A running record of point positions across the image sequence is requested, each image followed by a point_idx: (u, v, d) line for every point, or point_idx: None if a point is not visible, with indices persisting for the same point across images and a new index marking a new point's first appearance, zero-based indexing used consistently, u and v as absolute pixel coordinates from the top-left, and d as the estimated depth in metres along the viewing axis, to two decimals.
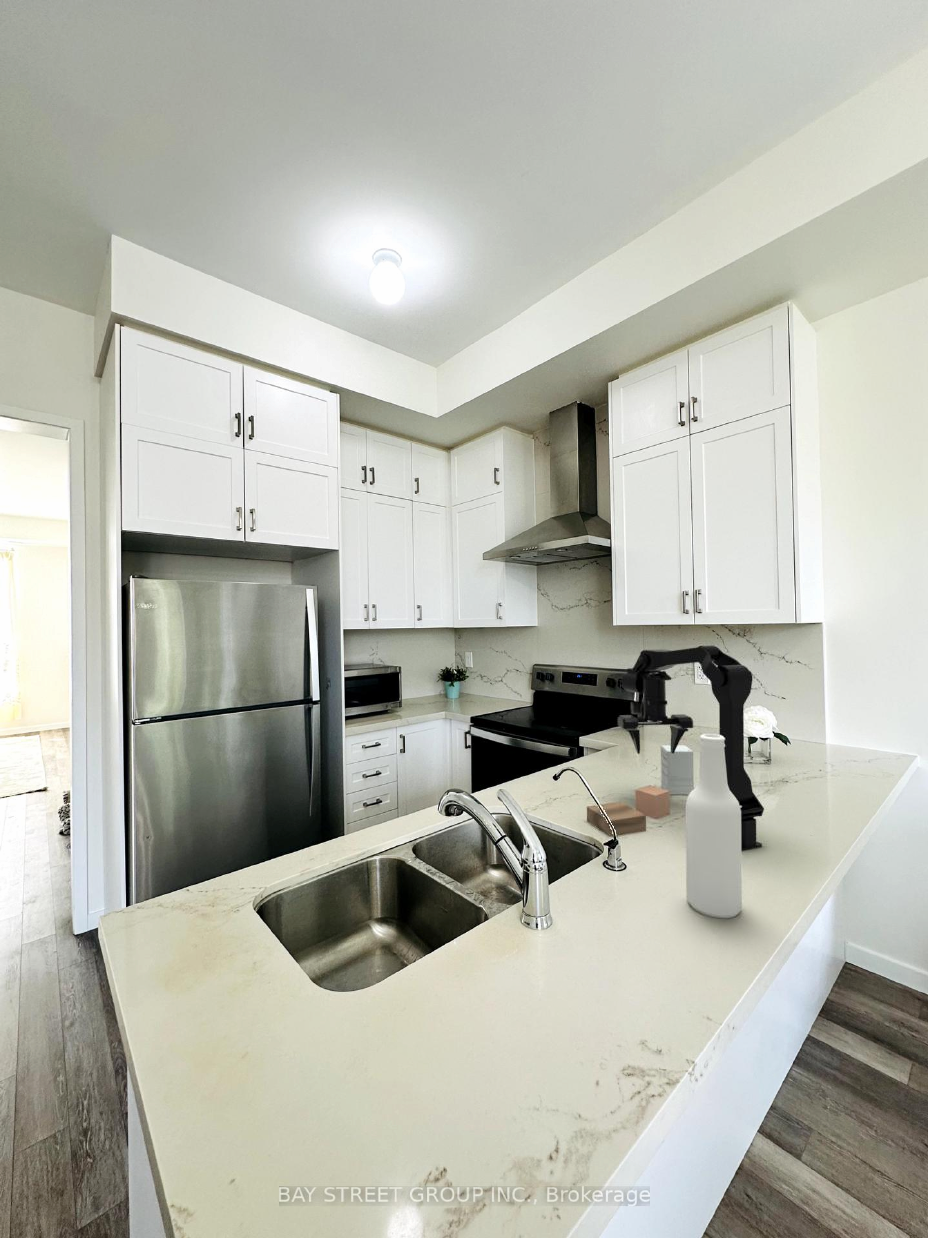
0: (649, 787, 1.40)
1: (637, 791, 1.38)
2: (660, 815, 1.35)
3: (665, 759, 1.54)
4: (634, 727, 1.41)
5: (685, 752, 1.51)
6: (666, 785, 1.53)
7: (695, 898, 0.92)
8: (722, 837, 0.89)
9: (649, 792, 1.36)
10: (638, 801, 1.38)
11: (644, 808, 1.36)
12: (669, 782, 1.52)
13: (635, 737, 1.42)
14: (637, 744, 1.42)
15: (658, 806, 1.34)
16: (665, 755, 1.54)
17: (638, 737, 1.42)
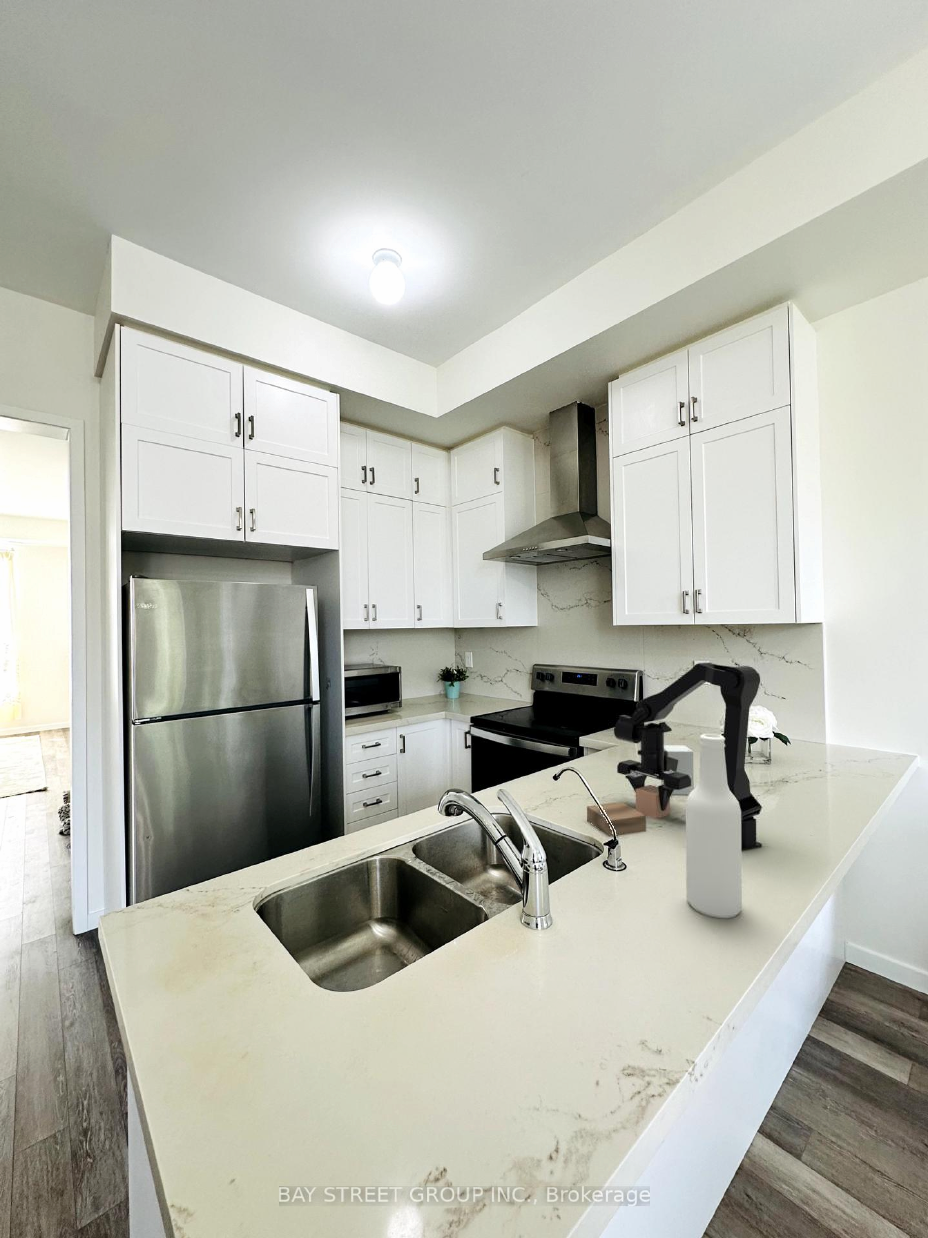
0: (649, 787, 1.40)
1: (637, 791, 1.38)
2: (660, 815, 1.35)
3: None
4: (624, 773, 1.41)
5: (685, 752, 1.51)
6: None
7: (695, 898, 0.92)
8: (722, 837, 0.89)
9: (649, 792, 1.36)
10: (638, 801, 1.38)
11: (644, 808, 1.36)
12: None
13: (632, 785, 1.40)
14: None
15: (658, 806, 1.34)
16: None
17: (634, 786, 1.40)
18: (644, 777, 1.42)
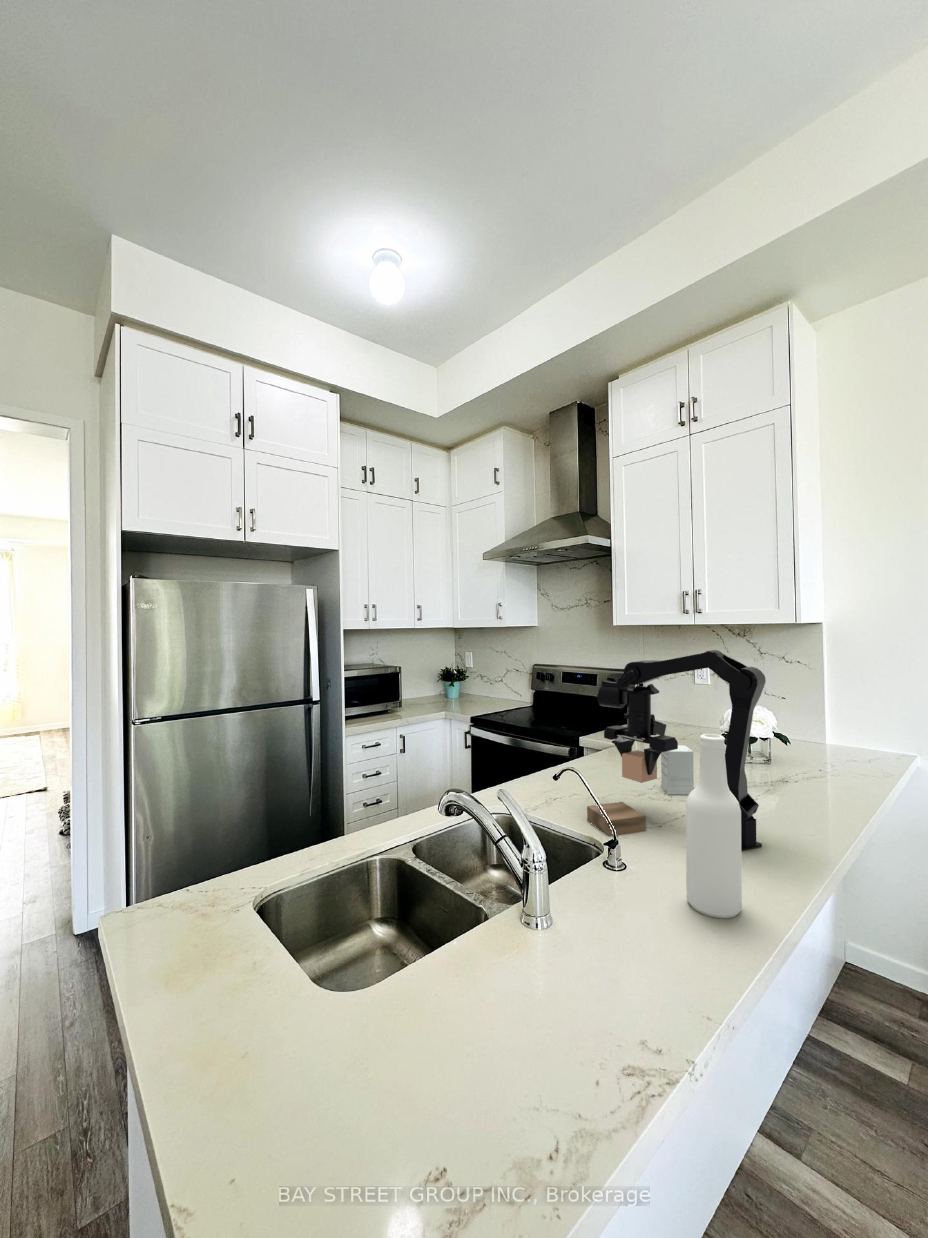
0: (636, 752, 1.37)
1: (623, 755, 1.35)
2: (646, 779, 1.32)
3: (665, 759, 1.54)
4: (610, 738, 1.39)
5: (685, 752, 1.51)
6: (666, 785, 1.53)
7: (695, 898, 0.92)
8: (722, 837, 0.89)
9: (635, 756, 1.33)
10: (624, 765, 1.35)
11: (630, 772, 1.33)
12: (669, 782, 1.52)
13: (618, 750, 1.37)
14: None
15: (645, 770, 1.31)
16: (665, 755, 1.54)
17: (621, 750, 1.37)
18: (631, 742, 1.39)
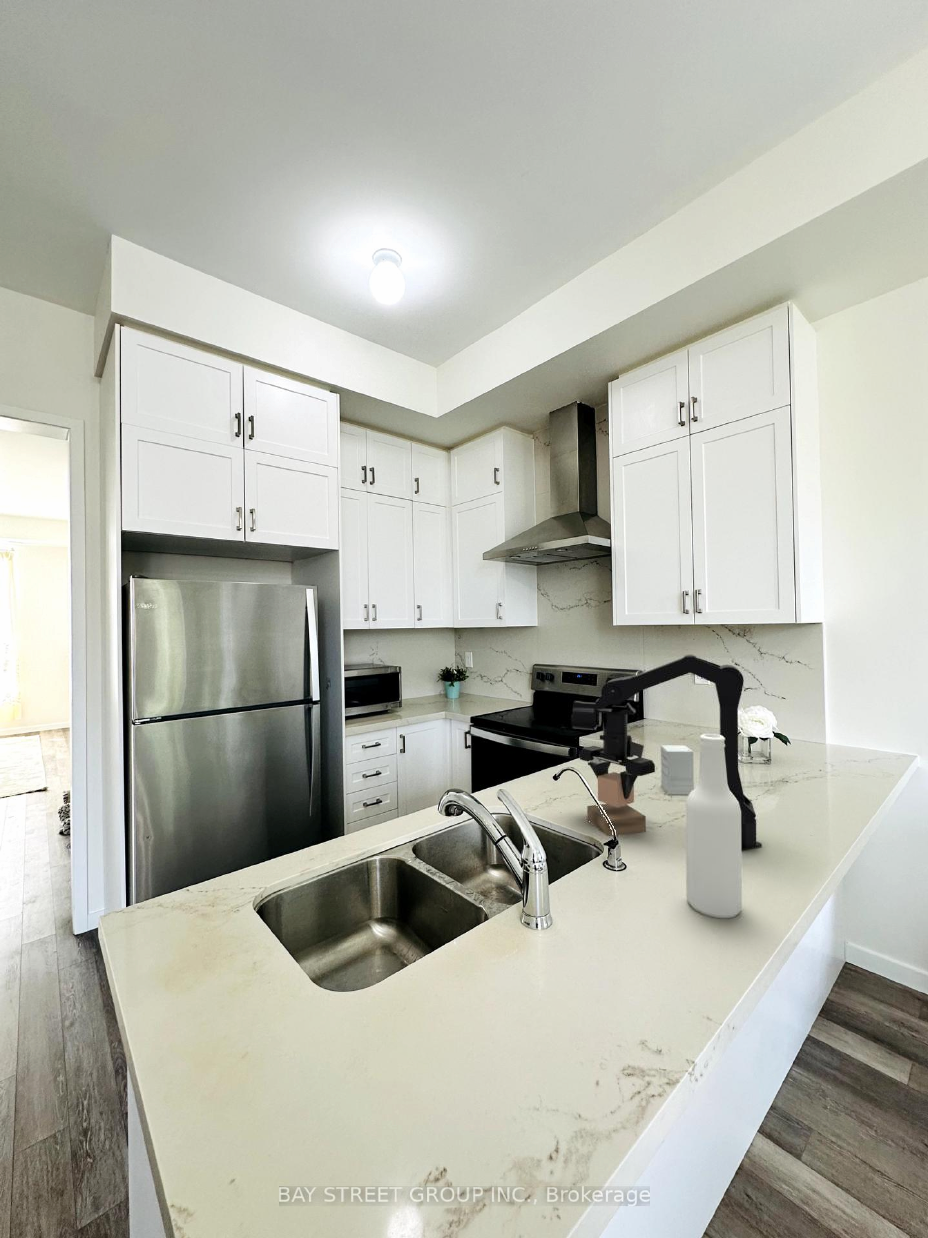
0: (613, 774, 1.32)
1: (599, 778, 1.30)
2: (623, 803, 1.26)
3: (665, 759, 1.54)
4: (586, 760, 1.33)
5: (685, 752, 1.51)
6: (666, 784, 1.53)
7: (695, 898, 0.92)
8: (722, 837, 0.89)
9: (611, 779, 1.28)
10: (600, 789, 1.30)
11: (606, 796, 1.28)
12: (669, 782, 1.52)
13: (594, 772, 1.32)
14: None
15: (621, 794, 1.26)
16: (665, 755, 1.54)
17: (597, 773, 1.31)
18: (608, 764, 1.33)
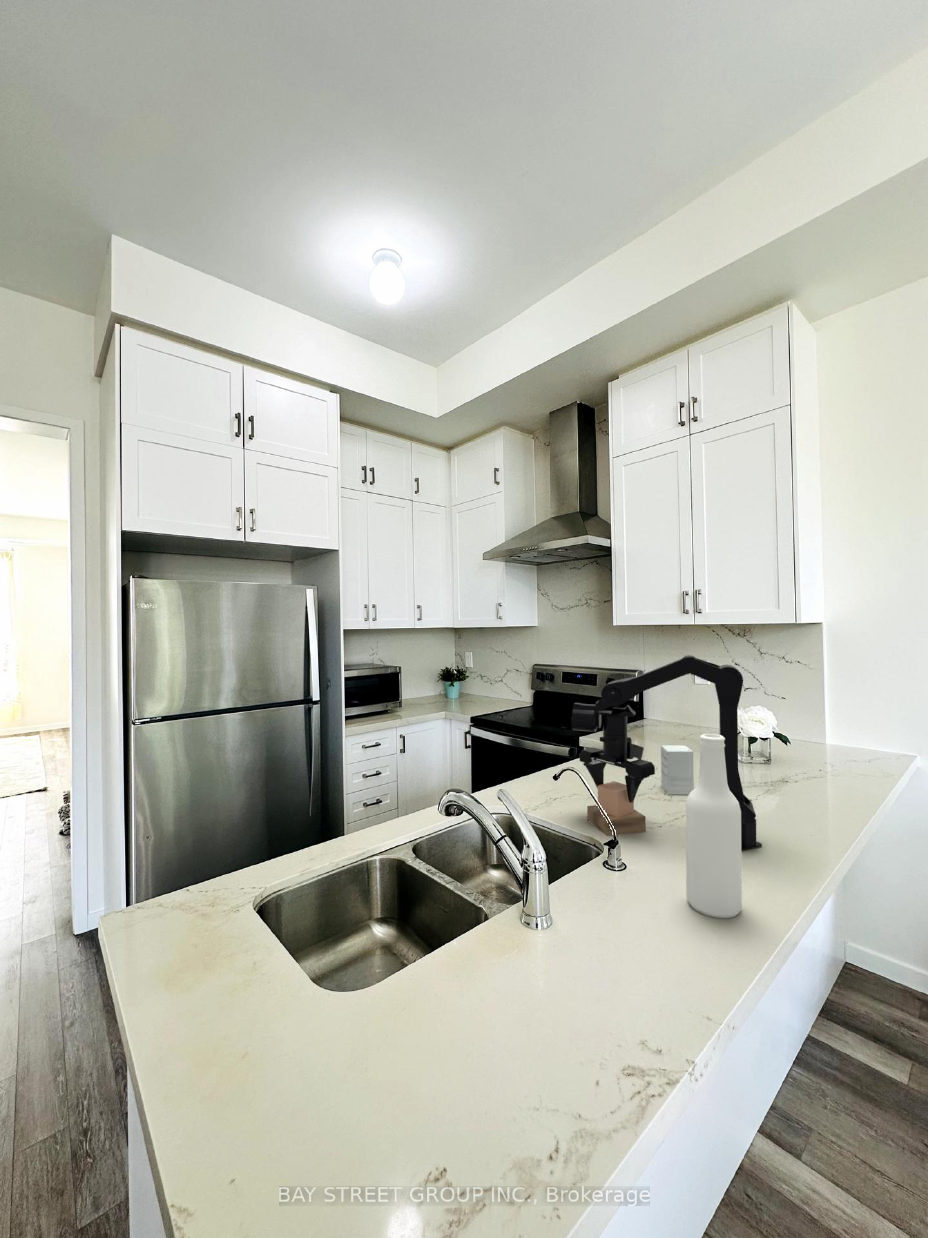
0: (612, 783, 1.32)
1: (599, 787, 1.30)
2: (623, 813, 1.27)
3: (665, 759, 1.54)
4: (586, 761, 1.33)
5: (685, 752, 1.51)
6: (666, 784, 1.53)
7: (695, 898, 0.92)
8: (722, 837, 0.89)
9: (611, 788, 1.28)
10: (600, 798, 1.30)
11: (606, 805, 1.28)
12: (669, 782, 1.52)
13: (590, 772, 1.33)
14: (594, 781, 1.33)
15: (621, 804, 1.26)
16: (665, 755, 1.54)
17: (592, 773, 1.32)
18: (603, 764, 1.35)
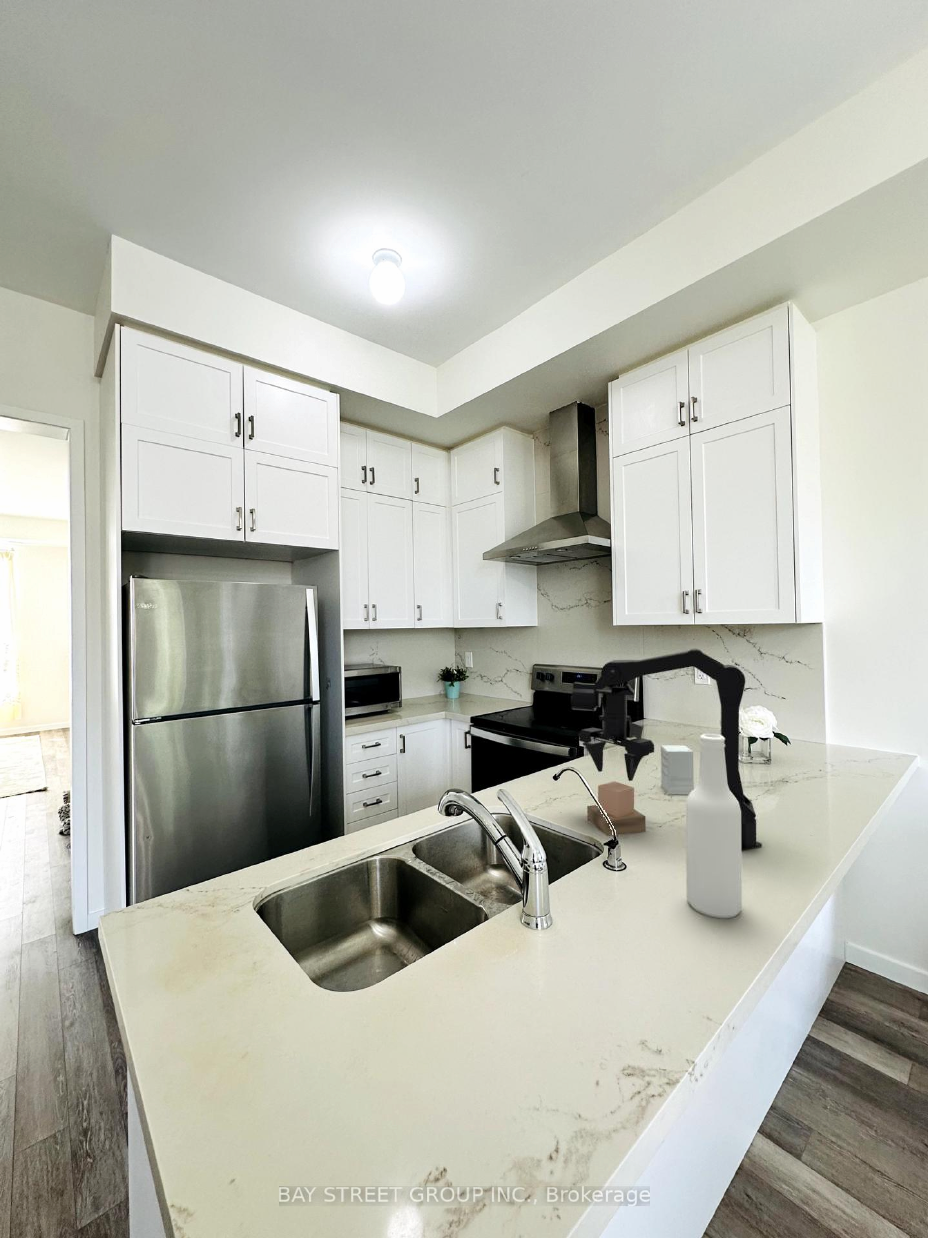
0: (613, 783, 1.31)
1: (600, 787, 1.29)
2: (623, 813, 1.26)
3: (665, 759, 1.54)
4: (585, 741, 1.33)
5: (685, 752, 1.51)
6: (666, 784, 1.53)
7: (695, 898, 0.92)
8: (722, 837, 0.89)
9: (611, 789, 1.27)
10: (600, 798, 1.29)
11: (606, 806, 1.28)
12: (669, 782, 1.52)
13: (589, 752, 1.33)
14: (593, 760, 1.33)
15: (621, 804, 1.26)
16: (665, 755, 1.54)
17: (592, 753, 1.33)
18: (602, 744, 1.35)
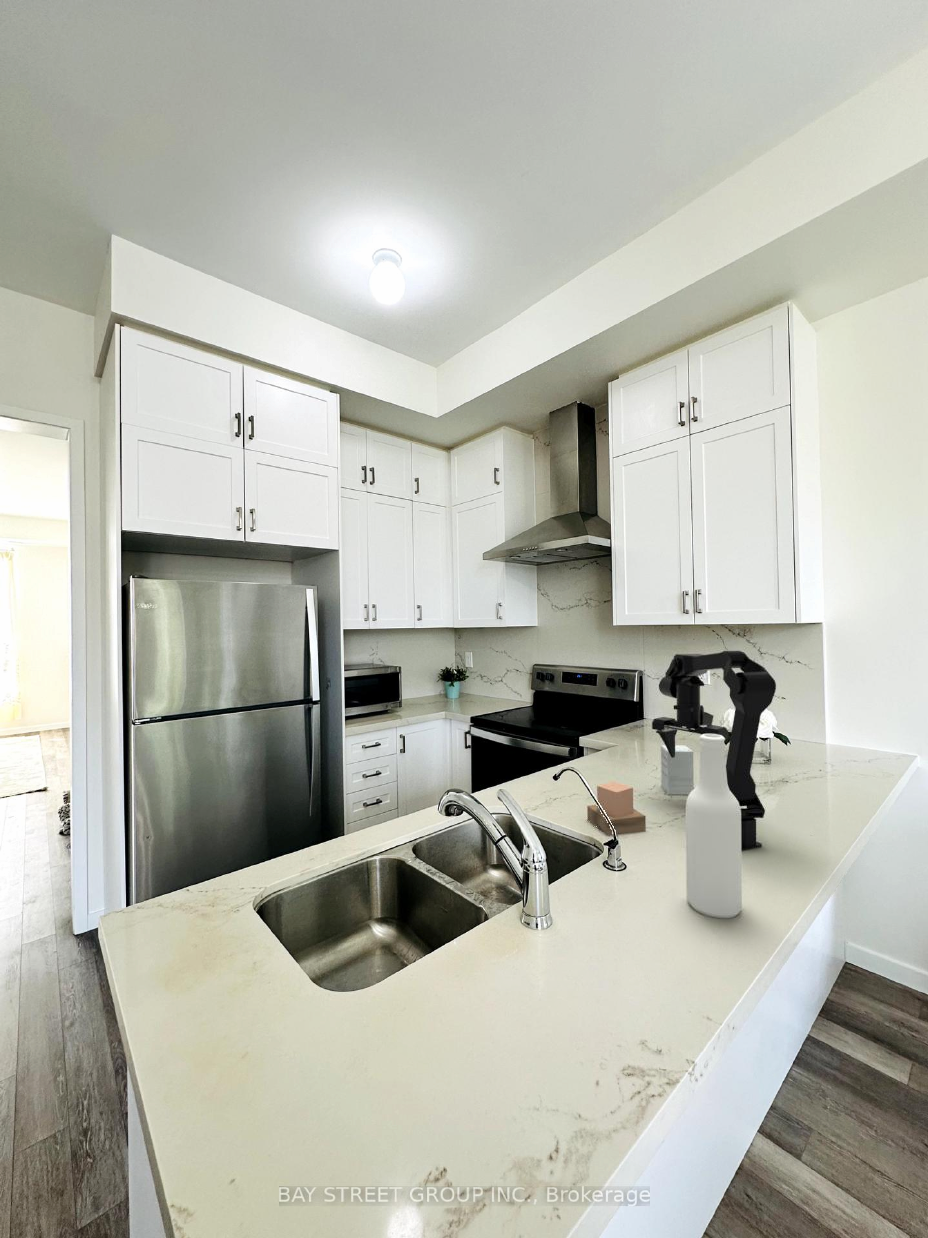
0: (612, 783, 1.32)
1: (599, 788, 1.30)
2: (622, 813, 1.26)
3: (665, 759, 1.54)
4: (659, 729, 1.43)
5: (685, 752, 1.51)
6: (666, 785, 1.53)
7: (695, 898, 0.92)
8: (722, 837, 0.89)
9: (610, 789, 1.28)
10: (599, 799, 1.29)
11: (606, 806, 1.28)
12: (669, 782, 1.52)
13: (663, 739, 1.43)
14: (667, 747, 1.42)
15: (620, 804, 1.26)
16: (665, 755, 1.53)
17: (665, 740, 1.42)
18: (674, 732, 1.44)
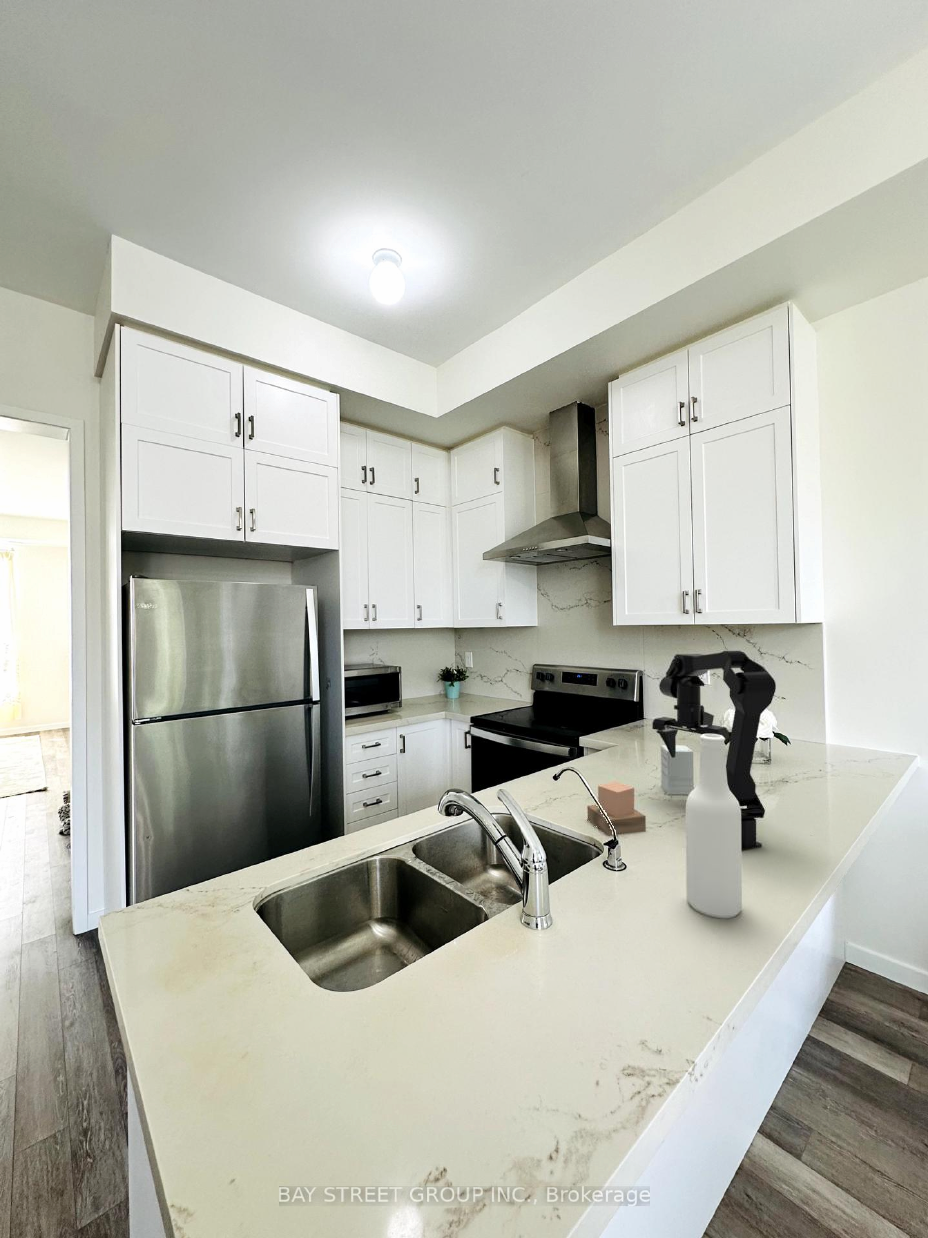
0: (613, 783, 1.31)
1: (600, 787, 1.30)
2: (623, 813, 1.26)
3: (665, 759, 1.54)
4: (660, 729, 1.43)
5: (685, 752, 1.51)
6: (666, 785, 1.53)
7: (695, 898, 0.92)
8: (722, 837, 0.89)
9: (611, 789, 1.28)
10: (600, 798, 1.29)
11: (607, 806, 1.28)
12: (669, 782, 1.52)
13: (663, 739, 1.43)
14: (667, 747, 1.43)
15: (621, 804, 1.26)
16: (665, 755, 1.53)
17: (666, 740, 1.42)
18: (675, 732, 1.44)
